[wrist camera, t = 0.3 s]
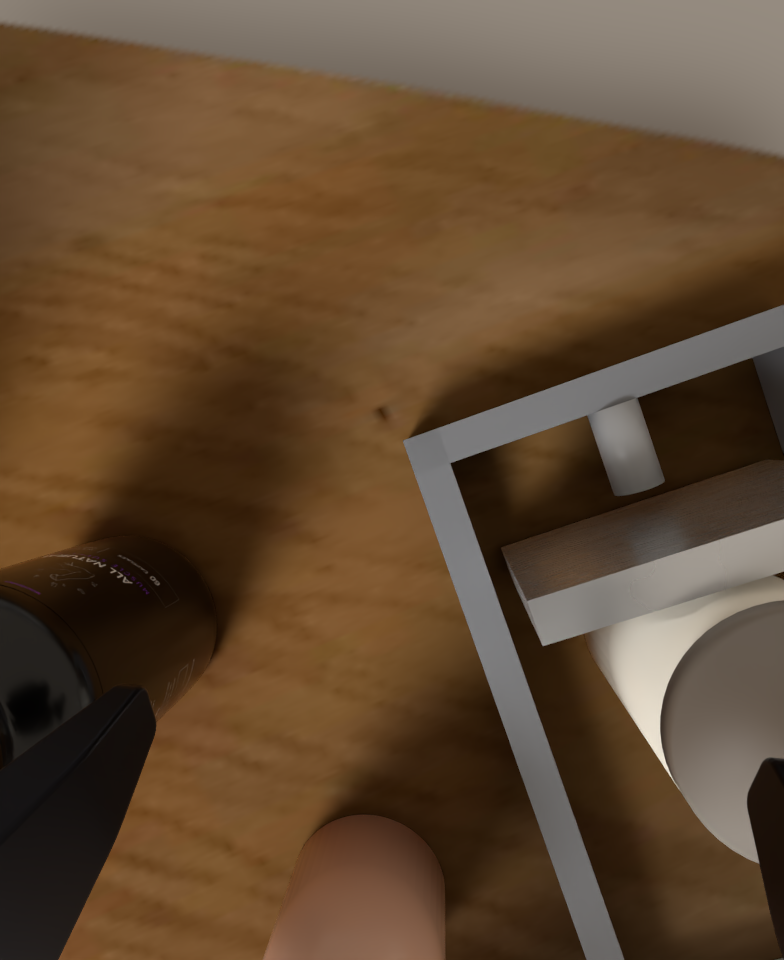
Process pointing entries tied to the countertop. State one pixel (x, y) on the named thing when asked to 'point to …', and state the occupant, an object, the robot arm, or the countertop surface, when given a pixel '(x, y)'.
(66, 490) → the countertop surface
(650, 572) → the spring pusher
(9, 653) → the supplement bottle
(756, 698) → the cream jar
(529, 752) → the pusher lane
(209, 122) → the countertop surface
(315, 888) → the terracotta jar
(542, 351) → the countertop surface
